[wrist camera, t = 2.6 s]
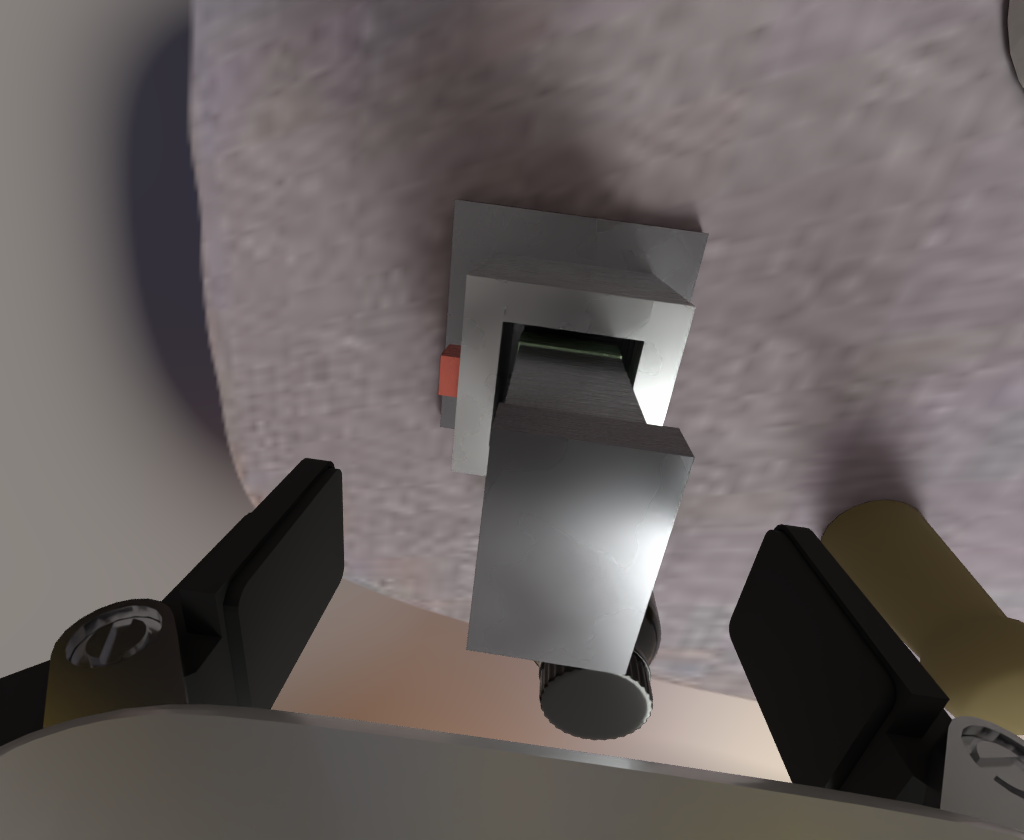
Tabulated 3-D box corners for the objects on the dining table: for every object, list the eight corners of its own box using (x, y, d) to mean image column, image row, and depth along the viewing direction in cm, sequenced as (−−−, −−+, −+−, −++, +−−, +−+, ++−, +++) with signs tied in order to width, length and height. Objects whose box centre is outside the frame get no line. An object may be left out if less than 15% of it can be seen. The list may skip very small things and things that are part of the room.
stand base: (458, 199, 24) (408, 199, 16) (702, 232, 24) (780, 250, 15) (443, 419, 29) (399, 506, 21) (644, 449, 29) (680, 548, 20)
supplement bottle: (514, 501, 31) (491, 665, 20) (619, 471, 29) (655, 631, 19) (550, 581, 33) (547, 766, 22) (649, 557, 32) (697, 743, 21)
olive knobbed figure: (800, 563, 31) (916, 735, 21) (857, 487, 29) (1018, 642, 19) (886, 590, 31) (1040, 773, 21) (950, 517, 29) (1158, 686, 19)
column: (532, 282, 24) (488, 427, 9) (607, 292, 24) (697, 458, 9) (517, 388, 26) (464, 649, 11) (586, 398, 26) (627, 674, 11)
